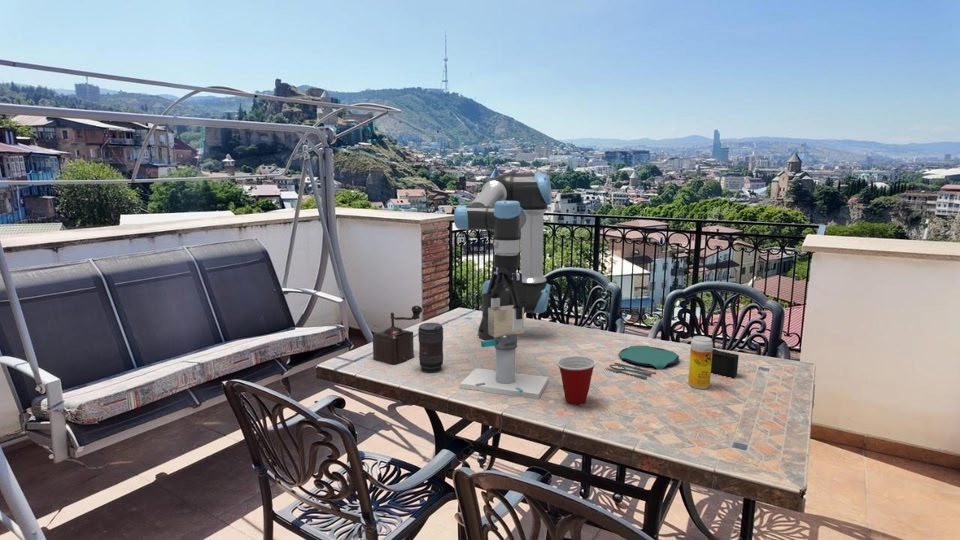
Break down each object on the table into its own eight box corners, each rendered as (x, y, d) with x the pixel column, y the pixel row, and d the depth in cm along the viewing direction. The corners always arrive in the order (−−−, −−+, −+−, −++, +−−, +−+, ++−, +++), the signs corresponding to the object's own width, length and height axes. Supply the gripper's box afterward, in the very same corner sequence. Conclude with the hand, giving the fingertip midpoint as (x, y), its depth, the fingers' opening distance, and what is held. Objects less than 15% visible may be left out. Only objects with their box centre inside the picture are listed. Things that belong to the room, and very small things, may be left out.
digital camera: (738, 374, 170) (740, 353, 168) (733, 378, 166) (735, 357, 164) (705, 366, 176) (707, 346, 175) (699, 371, 172) (701, 350, 171)
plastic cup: (553, 393, 154) (554, 354, 152) (590, 393, 153) (592, 354, 151) (557, 409, 143) (559, 367, 141) (597, 409, 143) (599, 367, 141)
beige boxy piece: (514, 341, 163) (514, 303, 161) (525, 347, 157) (526, 308, 155) (476, 346, 157) (476, 307, 156) (487, 353, 151) (487, 313, 149)
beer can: (700, 391, 156) (703, 342, 153) (683, 384, 161) (687, 337, 158) (714, 387, 158) (717, 339, 156) (697, 380, 164) (700, 334, 161)
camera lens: (414, 371, 172) (413, 326, 169) (427, 363, 179) (427, 321, 176) (435, 375, 168) (434, 330, 165) (448, 367, 175) (447, 324, 172)
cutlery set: (687, 359, 185) (687, 352, 184) (650, 384, 163) (651, 377, 162) (634, 347, 198) (634, 341, 197) (594, 369, 176) (594, 362, 176)
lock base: (475, 372, 170) (475, 337, 168) (548, 381, 163) (549, 344, 161) (460, 388, 157) (459, 350, 155) (538, 399, 149) (539, 359, 147)
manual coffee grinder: (395, 365, 176) (394, 314, 173) (372, 359, 183) (370, 309, 180) (425, 353, 189) (424, 305, 186) (403, 348, 195) (402, 301, 192)
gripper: (476, 249, 163) (476, 315, 166) (516, 260, 141) (515, 336, 144) (498, 248, 166) (497, 313, 169) (540, 258, 144) (538, 333, 147)
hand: (505, 324), depth 157 cm, fingers open, 13 cm apart
